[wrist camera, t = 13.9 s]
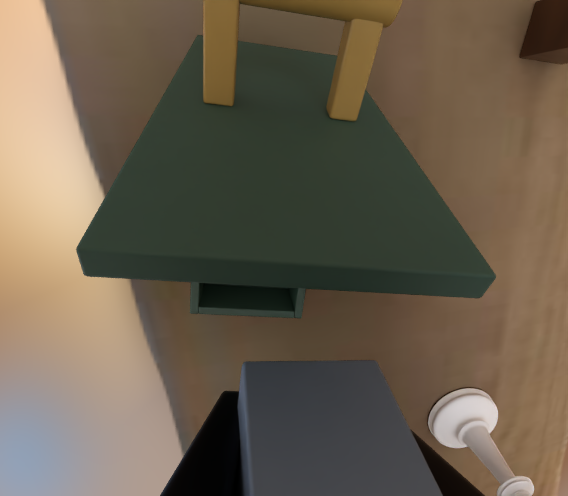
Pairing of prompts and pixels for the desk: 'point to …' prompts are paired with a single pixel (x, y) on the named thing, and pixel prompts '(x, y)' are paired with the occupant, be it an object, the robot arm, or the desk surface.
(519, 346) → the desk surface
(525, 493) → the chess piece
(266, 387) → the block
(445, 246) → the lid
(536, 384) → the desk surface
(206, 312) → the chest
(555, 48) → the post
